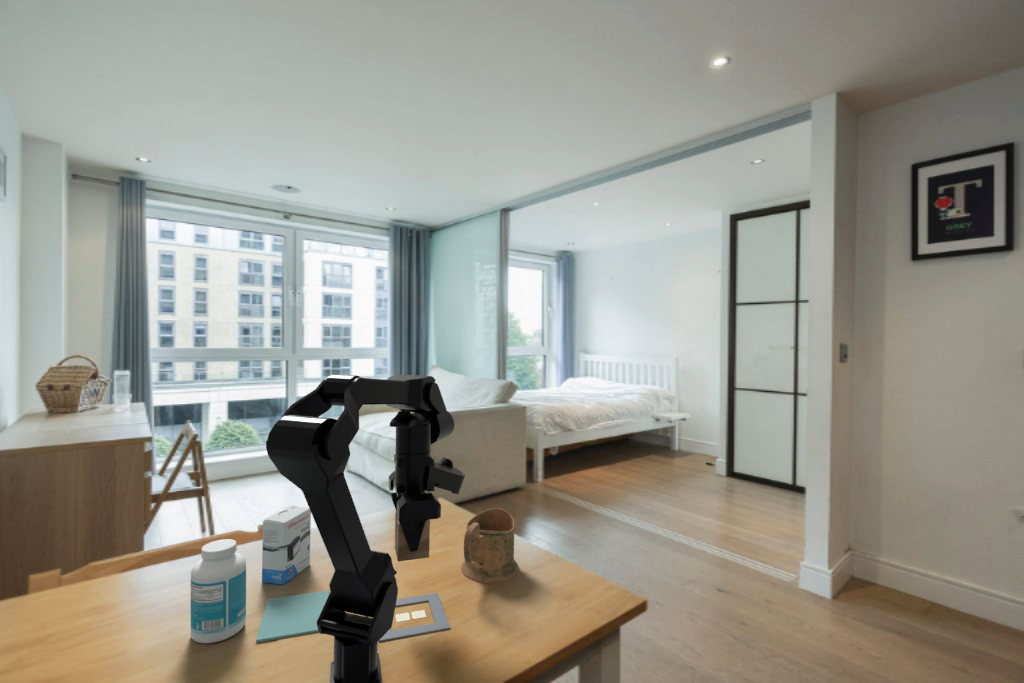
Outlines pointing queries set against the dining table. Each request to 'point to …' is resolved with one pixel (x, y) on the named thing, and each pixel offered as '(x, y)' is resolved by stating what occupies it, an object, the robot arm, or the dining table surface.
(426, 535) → the block
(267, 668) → the dining table surface
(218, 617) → the pill bottle
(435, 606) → the frame
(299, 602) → the mat
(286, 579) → the ink box
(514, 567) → the mug
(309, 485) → the robot arm
